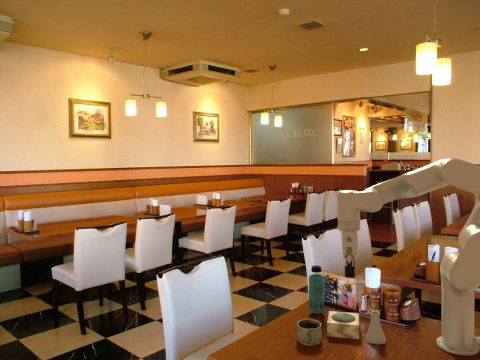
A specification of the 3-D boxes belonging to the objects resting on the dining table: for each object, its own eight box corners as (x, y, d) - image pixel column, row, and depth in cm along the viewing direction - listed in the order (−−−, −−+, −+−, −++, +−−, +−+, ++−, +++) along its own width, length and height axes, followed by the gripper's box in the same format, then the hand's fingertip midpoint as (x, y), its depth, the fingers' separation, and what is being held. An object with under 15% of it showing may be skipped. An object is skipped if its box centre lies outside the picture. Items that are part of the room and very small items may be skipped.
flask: (388, 345, 134) (387, 317, 134) (365, 344, 136) (365, 316, 135) (384, 336, 141) (384, 309, 141) (363, 335, 143) (363, 308, 142)
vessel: (294, 333, 145) (294, 317, 145) (318, 332, 146) (318, 316, 145) (299, 349, 133) (299, 331, 133) (325, 348, 134) (325, 330, 133)
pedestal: (358, 326, 150) (358, 312, 150) (359, 339, 139) (358, 324, 139) (329, 323, 153) (329, 310, 153) (327, 336, 143) (327, 322, 142)
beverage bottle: (306, 312, 165) (305, 265, 164) (320, 310, 167) (319, 263, 166) (313, 318, 159) (312, 269, 158) (328, 315, 161) (327, 267, 160)
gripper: (360, 230, 130) (361, 281, 130) (359, 221, 146) (360, 267, 147) (336, 229, 132) (338, 280, 133) (339, 221, 148) (340, 266, 149)
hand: (350, 273), depth 140 cm, fingers open, 9 cm apart
